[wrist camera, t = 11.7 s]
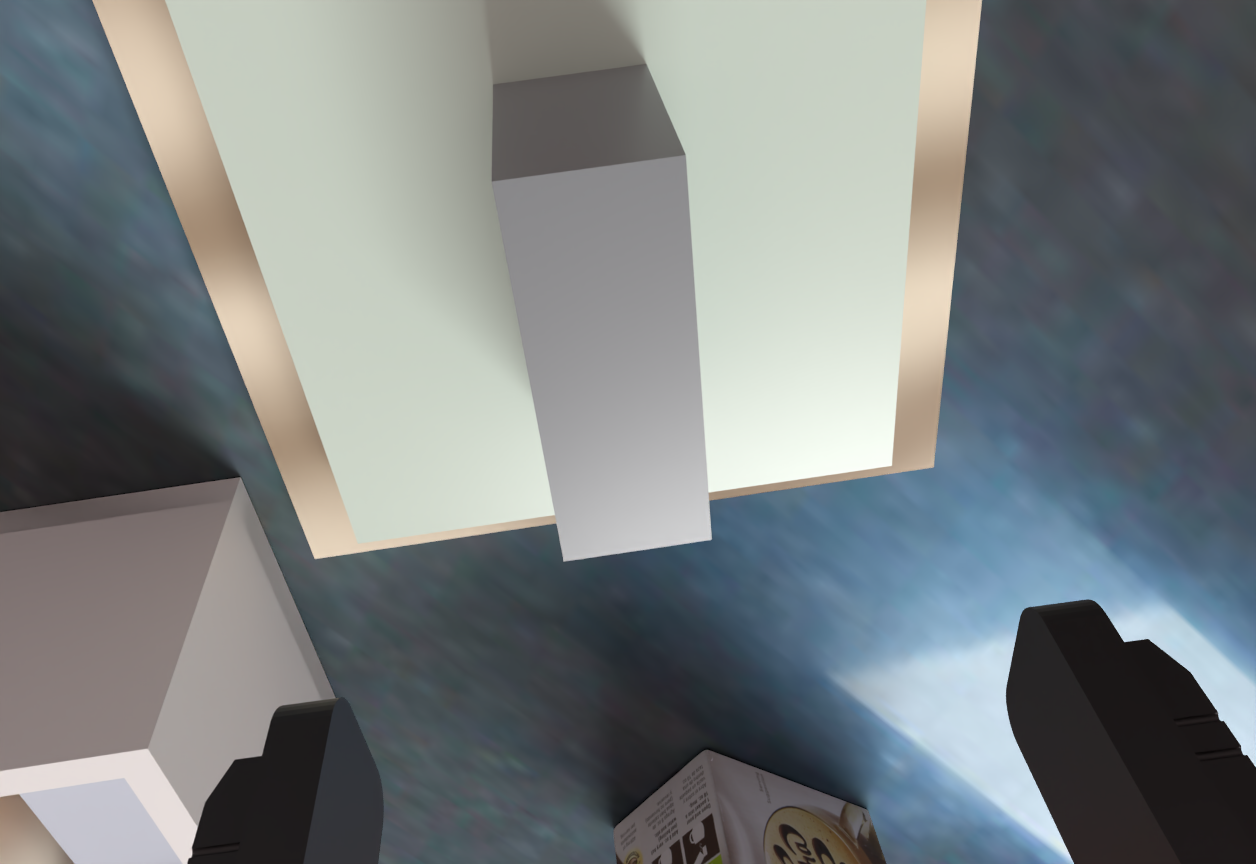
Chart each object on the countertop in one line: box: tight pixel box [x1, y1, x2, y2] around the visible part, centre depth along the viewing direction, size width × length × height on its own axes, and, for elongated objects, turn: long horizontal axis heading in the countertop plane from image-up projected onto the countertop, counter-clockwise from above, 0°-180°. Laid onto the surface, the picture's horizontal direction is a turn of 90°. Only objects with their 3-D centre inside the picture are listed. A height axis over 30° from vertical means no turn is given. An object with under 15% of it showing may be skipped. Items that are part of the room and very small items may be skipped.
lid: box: [165, 0, 926, 561], centre depth 20 cm, size 14×14×7 cm
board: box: [92, 0, 982, 559], centre depth 23 cm, size 18×18×1 cm
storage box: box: [0, 477, 336, 864], centre depth 28 cm, size 13×13×9 cm
